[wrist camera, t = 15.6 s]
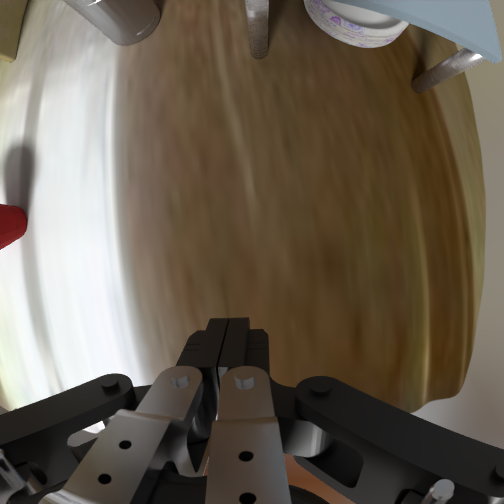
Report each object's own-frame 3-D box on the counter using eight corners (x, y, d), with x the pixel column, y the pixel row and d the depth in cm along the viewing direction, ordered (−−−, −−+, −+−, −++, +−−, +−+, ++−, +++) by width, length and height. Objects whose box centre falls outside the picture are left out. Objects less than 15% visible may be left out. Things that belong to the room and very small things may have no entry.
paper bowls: (288, 33, 36) (293, 6, 28) (315, -27, 32) (322, -55, 25) (384, 72, 36) (405, 53, 28) (400, 7, 33) (418, -14, 25)
